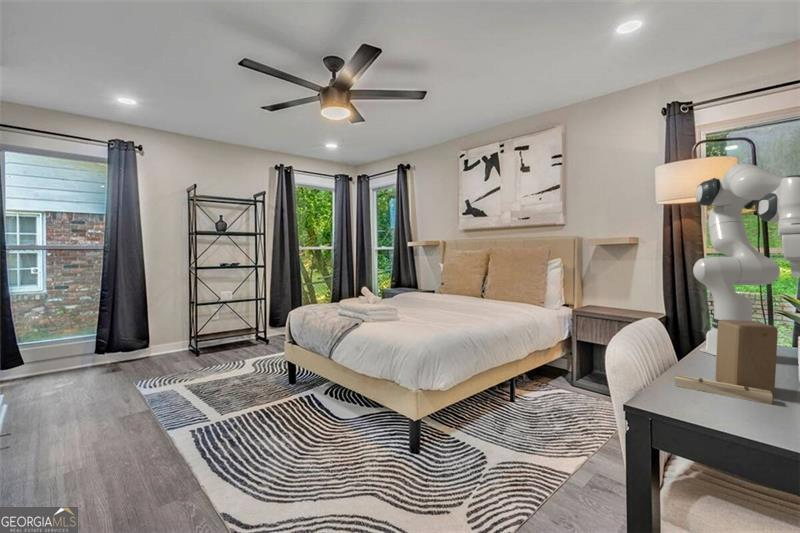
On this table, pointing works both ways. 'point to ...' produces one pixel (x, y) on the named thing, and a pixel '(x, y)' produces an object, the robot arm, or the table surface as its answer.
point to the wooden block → (746, 354)
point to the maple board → (724, 389)
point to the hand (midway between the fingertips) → (798, 277)
